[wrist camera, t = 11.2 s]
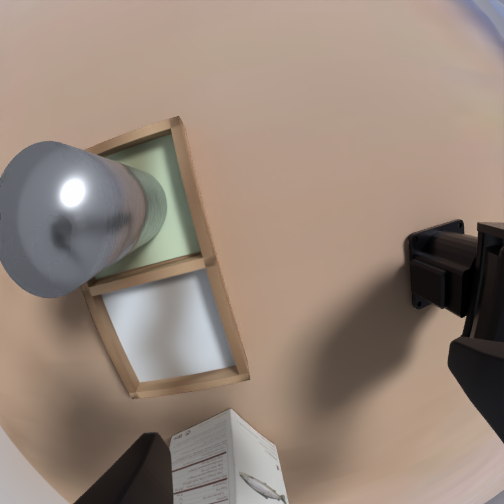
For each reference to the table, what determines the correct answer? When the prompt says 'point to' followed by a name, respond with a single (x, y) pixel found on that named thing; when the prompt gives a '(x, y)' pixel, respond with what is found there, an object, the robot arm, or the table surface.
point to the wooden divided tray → (167, 282)
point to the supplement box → (225, 464)
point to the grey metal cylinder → (72, 216)
